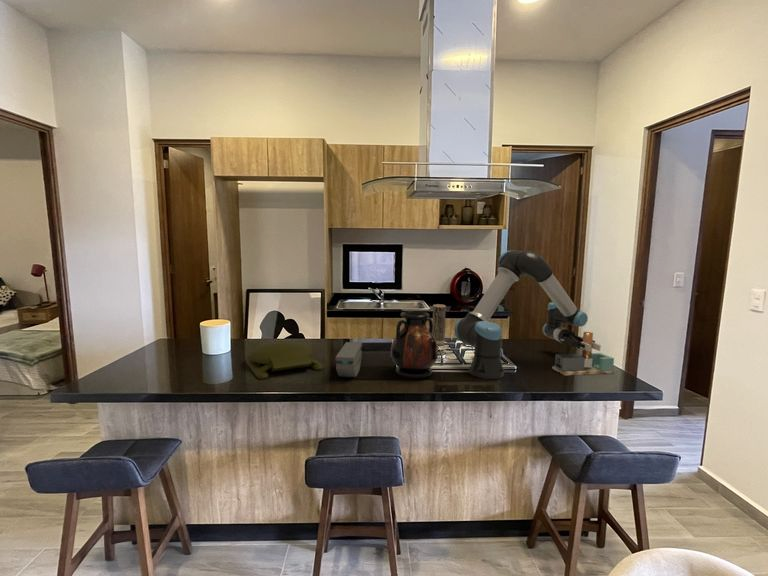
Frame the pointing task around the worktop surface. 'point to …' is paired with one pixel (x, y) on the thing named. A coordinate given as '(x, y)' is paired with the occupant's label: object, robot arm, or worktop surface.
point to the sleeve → (570, 362)
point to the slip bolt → (585, 353)
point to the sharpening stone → (349, 360)
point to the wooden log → (439, 323)
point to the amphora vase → (414, 346)
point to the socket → (602, 362)
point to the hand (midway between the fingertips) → (595, 348)
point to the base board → (586, 371)
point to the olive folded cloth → (281, 358)
